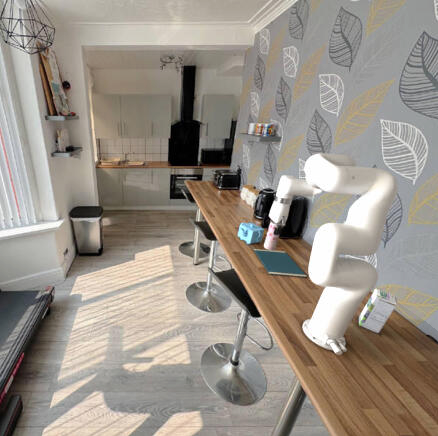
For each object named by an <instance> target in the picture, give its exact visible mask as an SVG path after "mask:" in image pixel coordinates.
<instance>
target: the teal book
mask: <svg viewBox="0 0 438 436" xmlns="http://www.w3.org/2000/svg"><path fill="white" fill-rule="evenodd" d="M253 251H254V253H255V255H256V256H257V257H258V259H259V261H260V262H261V263H262V265H263V266H264V268H265V270H266V271H267V273H268V274H269V275H273V276H285V277H295V278H297V277H298V278H308V276H307V275H306V274H305V272H304V271H303V270H302V269H301V268H300V266H298V265H297V263H296V262H295V261H294V260H293V259H292V258H291V256H289V254H288V253H287V251H285V250H275V249H274V250H268V249H261V248H260V249H259V248H253Z"/></svg>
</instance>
